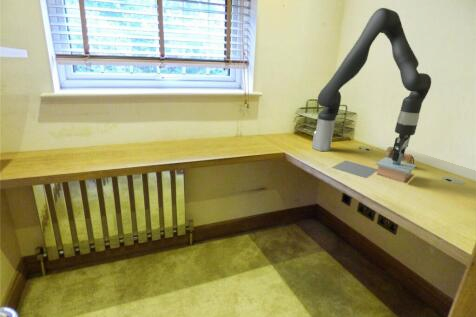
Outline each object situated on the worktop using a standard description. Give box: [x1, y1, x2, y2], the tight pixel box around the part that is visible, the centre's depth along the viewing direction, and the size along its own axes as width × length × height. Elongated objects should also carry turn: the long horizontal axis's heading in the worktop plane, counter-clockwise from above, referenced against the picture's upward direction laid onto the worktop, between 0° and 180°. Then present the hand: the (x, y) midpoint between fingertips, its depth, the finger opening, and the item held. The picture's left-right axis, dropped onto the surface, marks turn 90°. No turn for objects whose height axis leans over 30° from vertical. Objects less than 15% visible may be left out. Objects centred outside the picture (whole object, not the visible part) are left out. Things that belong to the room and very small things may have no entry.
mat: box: [331, 160, 378, 179], centre depth 133 cm, size 16×16×1 cm
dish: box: [376, 165, 412, 183], centre depth 127 cm, size 11×11×5 cm
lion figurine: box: [385, 146, 417, 169], centre depth 141 cm, size 15×5×9 cm, turn 66°
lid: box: [375, 153, 417, 174], centre depth 126 cm, size 13×13×6 cm
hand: (397, 158), depth 126 cm, fingers open, 8 cm apart
